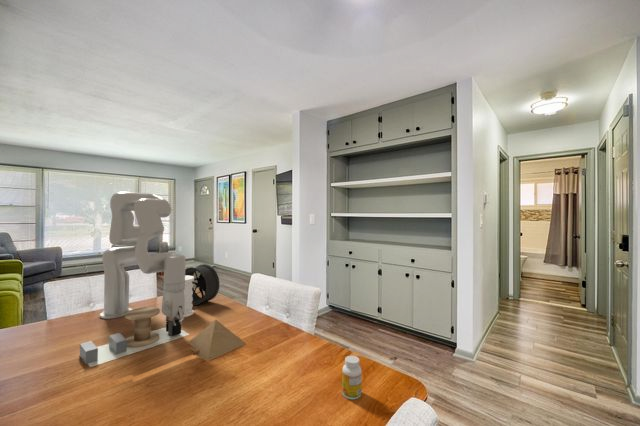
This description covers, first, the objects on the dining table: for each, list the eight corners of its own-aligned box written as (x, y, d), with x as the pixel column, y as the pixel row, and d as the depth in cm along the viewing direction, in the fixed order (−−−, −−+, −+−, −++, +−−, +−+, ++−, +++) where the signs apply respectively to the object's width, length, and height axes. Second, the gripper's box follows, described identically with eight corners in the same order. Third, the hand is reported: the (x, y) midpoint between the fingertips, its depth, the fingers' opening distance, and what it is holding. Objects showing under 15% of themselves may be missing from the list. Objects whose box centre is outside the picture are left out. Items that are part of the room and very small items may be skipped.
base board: (79, 355, 96) (79, 352, 96) (173, 327, 120) (173, 324, 120) (90, 371, 87) (90, 367, 87) (189, 337, 111) (189, 334, 111)
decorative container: (186, 310, 141) (186, 274, 141) (199, 315, 134) (199, 277, 134) (162, 316, 132) (162, 278, 131) (174, 322, 125) (175, 282, 125)
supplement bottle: (340, 388, 81) (341, 354, 81) (358, 387, 82) (359, 354, 82) (343, 400, 76) (344, 364, 76) (363, 399, 76) (364, 364, 76)
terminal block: (79, 355, 93) (79, 343, 93) (118, 343, 102) (119, 332, 102) (85, 364, 88) (85, 351, 88) (126, 351, 97) (126, 339, 97)
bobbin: (119, 340, 104) (120, 312, 104) (152, 331, 113) (152, 305, 113) (130, 350, 97) (130, 320, 97) (164, 339, 106) (164, 311, 106)
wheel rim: (219, 303, 152) (219, 266, 152) (206, 308, 144) (207, 269, 144) (191, 297, 160) (192, 262, 160) (177, 302, 152) (178, 265, 152)
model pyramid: (180, 348, 103) (180, 321, 103) (221, 332, 117) (222, 308, 117) (205, 363, 93) (205, 333, 93) (247, 344, 107) (248, 318, 107)
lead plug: (166, 334, 111) (166, 316, 111) (176, 331, 114) (176, 313, 114) (170, 336, 108) (170, 318, 108) (180, 333, 111) (180, 316, 111)
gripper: (155, 284, 113) (154, 329, 113) (174, 292, 103) (173, 342, 103) (174, 281, 119) (173, 324, 119) (194, 288, 108) (193, 335, 109)
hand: (173, 332), depth 111 cm, fingers open, 4 cm apart
